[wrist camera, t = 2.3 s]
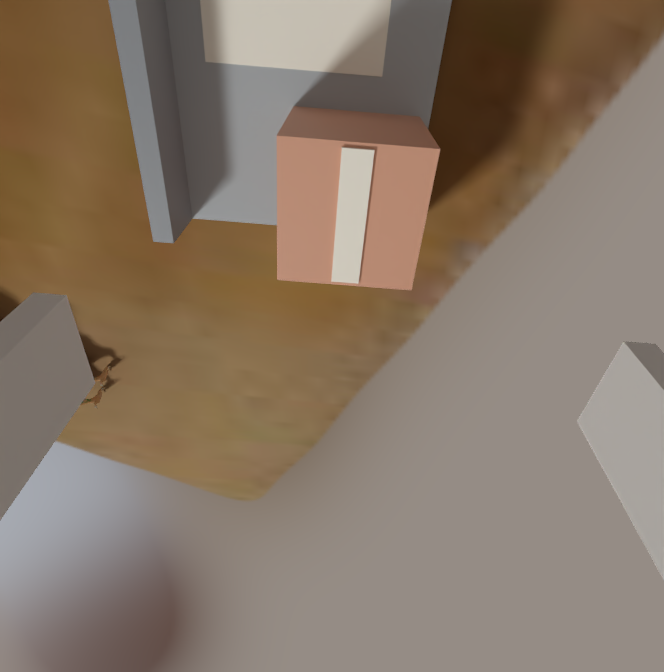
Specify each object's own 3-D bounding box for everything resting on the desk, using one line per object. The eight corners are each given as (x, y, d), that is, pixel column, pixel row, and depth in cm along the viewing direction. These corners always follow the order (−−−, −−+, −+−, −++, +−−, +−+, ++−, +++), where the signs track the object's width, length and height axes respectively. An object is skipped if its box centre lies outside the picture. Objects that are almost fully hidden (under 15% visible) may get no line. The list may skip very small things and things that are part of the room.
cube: (293, 106, 21) (276, 136, 16) (419, 116, 21) (440, 150, 16) (291, 228, 25) (276, 283, 20) (399, 237, 25) (411, 294, 20)
